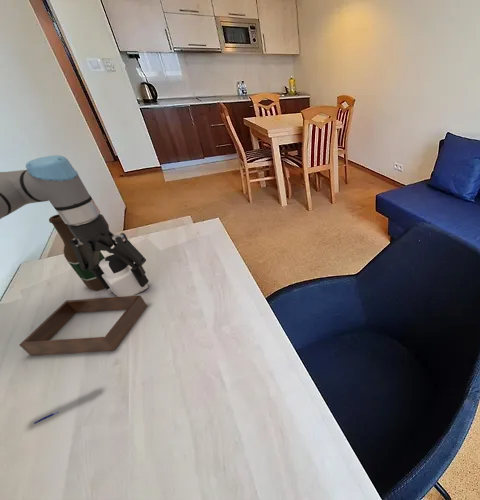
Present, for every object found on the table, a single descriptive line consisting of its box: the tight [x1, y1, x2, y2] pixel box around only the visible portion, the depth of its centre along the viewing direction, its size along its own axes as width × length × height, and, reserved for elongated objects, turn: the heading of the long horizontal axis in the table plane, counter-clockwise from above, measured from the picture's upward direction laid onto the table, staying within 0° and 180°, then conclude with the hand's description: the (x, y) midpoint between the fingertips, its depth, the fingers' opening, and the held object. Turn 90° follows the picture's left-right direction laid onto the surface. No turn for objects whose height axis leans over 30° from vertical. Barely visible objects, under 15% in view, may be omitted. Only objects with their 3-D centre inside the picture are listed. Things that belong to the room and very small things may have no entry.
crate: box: [19, 294, 148, 357], centre depth 77 cm, size 21×15×5 cm
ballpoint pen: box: [33, 411, 60, 424], centre depth 61 cm, size 10×1×1 cm, turn 125°
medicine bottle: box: [99, 253, 149, 297], centre depth 87 cm, size 7×7×12 cm
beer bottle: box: [48, 213, 106, 292], centre depth 88 cm, size 8×8×24 cm
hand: (127, 285), depth 89 cm, fingers closed on medicine bottle, 10 cm apart
